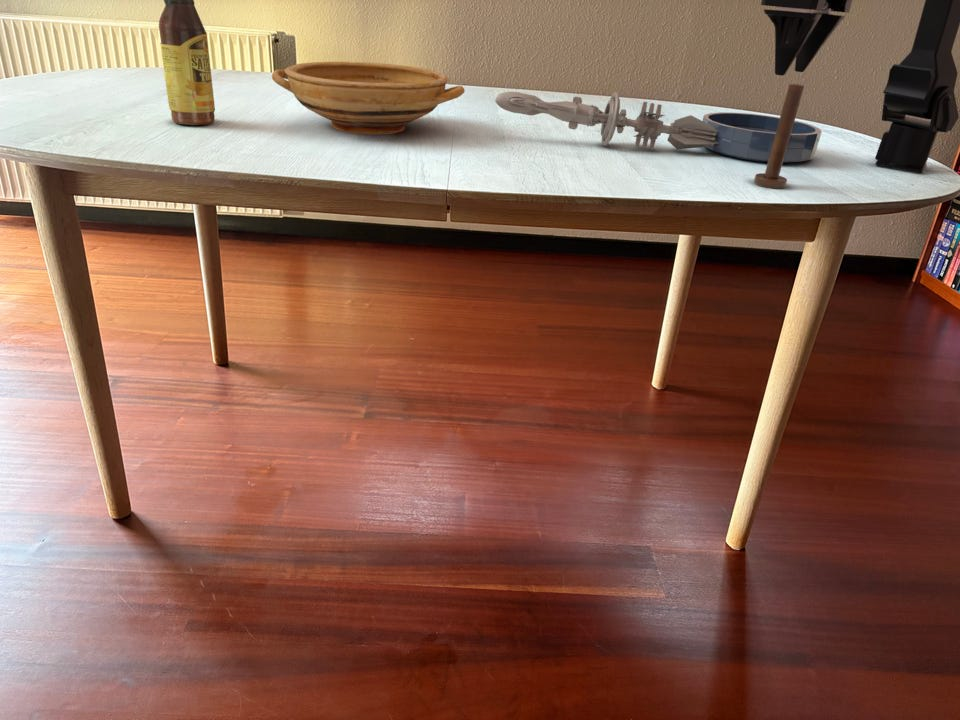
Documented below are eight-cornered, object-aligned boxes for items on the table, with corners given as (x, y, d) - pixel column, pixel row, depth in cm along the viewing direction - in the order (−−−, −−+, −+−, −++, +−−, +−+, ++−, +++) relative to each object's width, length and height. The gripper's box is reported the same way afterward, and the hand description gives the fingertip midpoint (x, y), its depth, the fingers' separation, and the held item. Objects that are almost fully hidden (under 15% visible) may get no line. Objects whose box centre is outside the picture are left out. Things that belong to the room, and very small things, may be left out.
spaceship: (498, 79, 106) (501, 63, 98) (715, 118, 108) (735, 106, 100) (489, 131, 107) (492, 119, 99) (705, 169, 109) (724, 160, 101)
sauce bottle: (207, 128, 98) (187, -31, 88) (163, 125, 98) (139, -35, 88) (223, 119, 104) (206, -31, 94) (182, 116, 104) (160, -34, 94)
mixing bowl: (823, 154, 111) (832, 125, 109) (796, 172, 99) (805, 140, 96) (718, 135, 120) (724, 108, 118) (680, 149, 107) (687, 119, 105)
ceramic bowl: (473, 122, 116) (476, 71, 112) (448, 152, 95) (451, 91, 91) (304, 106, 118) (301, 55, 114) (243, 132, 97) (237, 72, 93)
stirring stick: (788, 185, 91) (817, 85, 85) (780, 190, 89) (809, 88, 82) (758, 178, 93) (784, 81, 87) (749, 184, 90) (775, 83, 84)
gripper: (781, -65, 90) (749, 62, 98) (735, -81, 77) (702, 68, 85) (872, -62, 85) (831, 73, 93) (839, -79, 72) (794, 80, 79)
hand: (789, 73), depth 87 cm, fingers open, 9 cm apart
